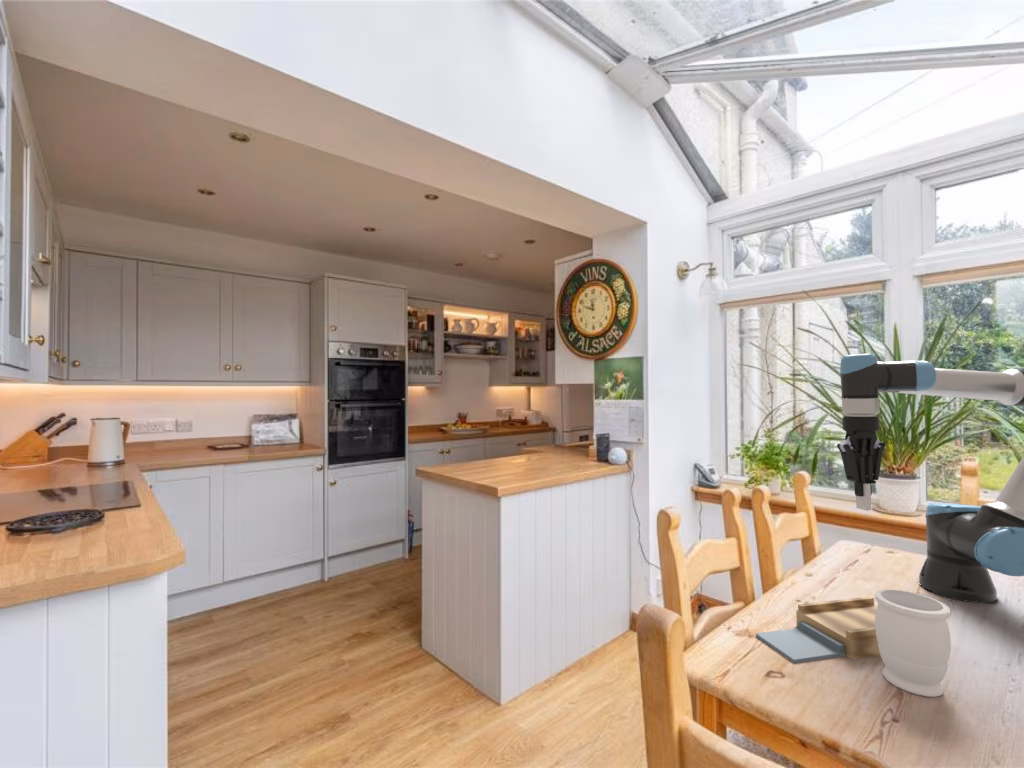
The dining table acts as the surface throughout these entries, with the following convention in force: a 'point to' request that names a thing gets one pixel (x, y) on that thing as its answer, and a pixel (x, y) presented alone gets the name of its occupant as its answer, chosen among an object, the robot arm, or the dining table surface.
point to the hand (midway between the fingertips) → (863, 508)
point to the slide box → (845, 623)
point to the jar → (913, 640)
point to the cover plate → (803, 643)
